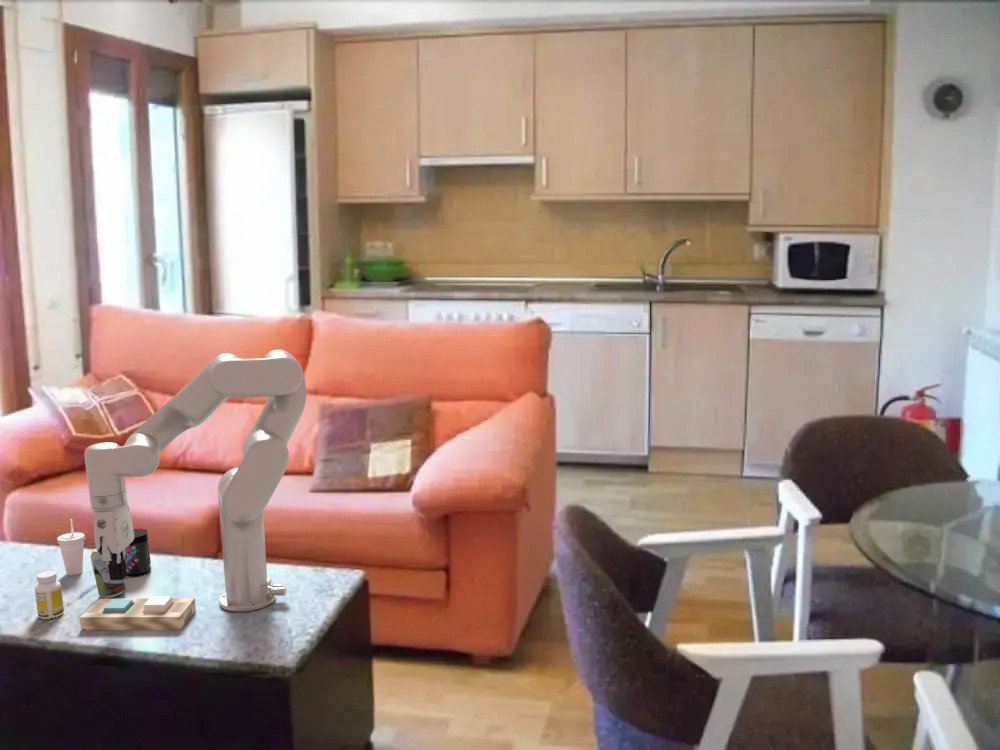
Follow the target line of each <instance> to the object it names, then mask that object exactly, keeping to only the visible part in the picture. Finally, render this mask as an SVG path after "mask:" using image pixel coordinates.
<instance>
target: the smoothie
mask: <svg viewBox="0 0 1000 750" xmlns="http://www.w3.org/2000/svg"><path fill="white" fill-rule="evenodd" d="M69 521H70V522H69V523H70V531H71V532H67V533H64V534H63V533H62V535H61V534H60V535H59V536H58V537H57V538H56V539H57V544H59V548H60V549H59V550H60V552H61V556H62V557H61V558H62V560H63V565H64V568H65V572H66V575H67V576H68V575H70V576H71V577H73V576H72V575H75V576H78V575H77V574H79V575H81V574H82V573H83V572H84V571H83V570H84V569H83V568H84V545H85V544H84V543H85V542H84V541H85V540H86V535H85V533H83V532H80V531H79V532H75V531H74V520H73V518H71V519H69ZM80 573H81V574H80Z"/></svg>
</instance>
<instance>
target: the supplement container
mask: <svg viewBox="0 0 1000 750" xmlns="http://www.w3.org/2000/svg"><path fill="white" fill-rule="evenodd" d="M133 530H134V540H133V541H132V542H131V543H130V544H129V545H128V546H127V547H126V548H125V555H126V558H125V563H126V571H127V577H128V578H138V577H139V578H140V577H143V576H146V575H148V574H149V573H150V572H151V570H152V563H151V552H150V551H151V550H150V542H149V530H147V529H146V528H133Z"/></svg>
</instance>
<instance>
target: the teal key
mask: <svg viewBox="0 0 1000 750" xmlns="http://www.w3.org/2000/svg"><path fill="white" fill-rule="evenodd" d="M117 599H118V600H111V601H110V602H109V603H108V604H107V605H106V606H105V607H104V613H126V612H127V611H128V610H129V609H130V608H131V607H132V605H133V600H132V599H128V598H117Z"/></svg>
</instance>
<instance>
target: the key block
mask: <svg viewBox="0 0 1000 750" xmlns="http://www.w3.org/2000/svg"><path fill="white" fill-rule="evenodd" d="M118 599H119V598H98V599H97V600H96V601H95V602H94V603H93V604H92V605H91V606H90V607H89V608H88V609H87V610H86V611H85V612H84V613H83V614H81V615H80V617H79V623H80V630H81V631H84V630H83V629H92V630H91V631H150V630H151V631H171V630H172V631H174V630H175V631H177V630H178V631H181V630H182V628H184V627H185V625H186V624H187V622H188V621H189V620H190V619H191V617H192V616H193V615H194V614H195V612H196V611H197V608H196V598H195V597H183V598H182V597H179V598H177V597H176V598H173V597H172V606H171V607H170V608H169V610H168V611H167V612H163V613H144V604H145V603H146V602H147V601H148V600H149V599H150V598H149V597H146V598H145V597H144V598H143V597H141V598H135V597H134V598H129V597H128V598H127V599H132V600H133V605H132V607H131V608H130V609H129V610H128V611H127V612H126V613H104V607H105V606H106V605H107V604H108V603H109V602H110V601H111V600H118Z"/></svg>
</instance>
